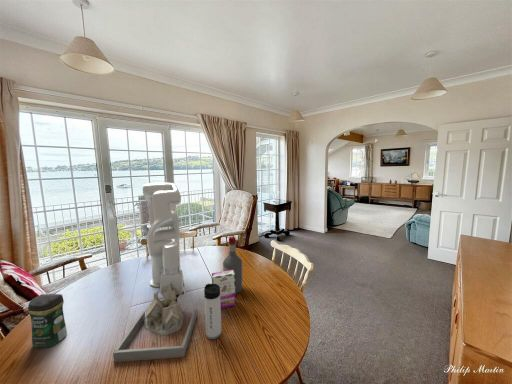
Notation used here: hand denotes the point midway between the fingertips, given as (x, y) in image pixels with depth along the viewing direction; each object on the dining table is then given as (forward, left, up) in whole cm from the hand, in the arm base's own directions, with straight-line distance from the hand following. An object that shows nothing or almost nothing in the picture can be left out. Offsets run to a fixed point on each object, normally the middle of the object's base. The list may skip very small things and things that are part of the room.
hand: (174, 305), depth 99 cm
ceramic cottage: (+9, -2, -2) cm, 9 cm away
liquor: (-14, +28, -2) cm, 31 cm away
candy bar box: (-1, +24, -2) cm, 24 cm away
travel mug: (+17, +21, -2) cm, 27 cm away
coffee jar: (+15, -43, -2) cm, 46 cm away
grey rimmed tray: (+16, 0, -2) cm, 16 cm away
